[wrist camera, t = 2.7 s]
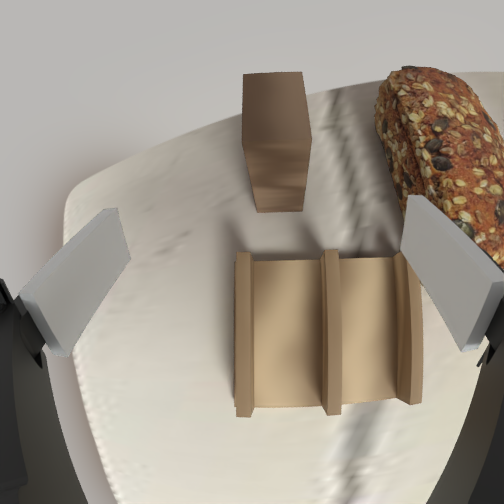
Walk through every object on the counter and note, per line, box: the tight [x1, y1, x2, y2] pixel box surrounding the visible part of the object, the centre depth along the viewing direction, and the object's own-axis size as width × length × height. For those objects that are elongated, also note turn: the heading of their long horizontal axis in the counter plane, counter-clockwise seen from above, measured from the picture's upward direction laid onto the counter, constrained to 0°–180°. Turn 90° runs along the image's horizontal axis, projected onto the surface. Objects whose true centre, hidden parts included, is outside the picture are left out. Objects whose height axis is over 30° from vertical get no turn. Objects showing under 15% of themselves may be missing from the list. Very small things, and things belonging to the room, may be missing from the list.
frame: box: [242, 72, 312, 213], centre depth 22 cm, size 4×6×11 cm
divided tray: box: [234, 250, 423, 417], centre depth 22 cm, size 15×12×4 cm
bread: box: [374, 66, 504, 286], centre depth 21 cm, size 19×11×10 cm, turn 6°
